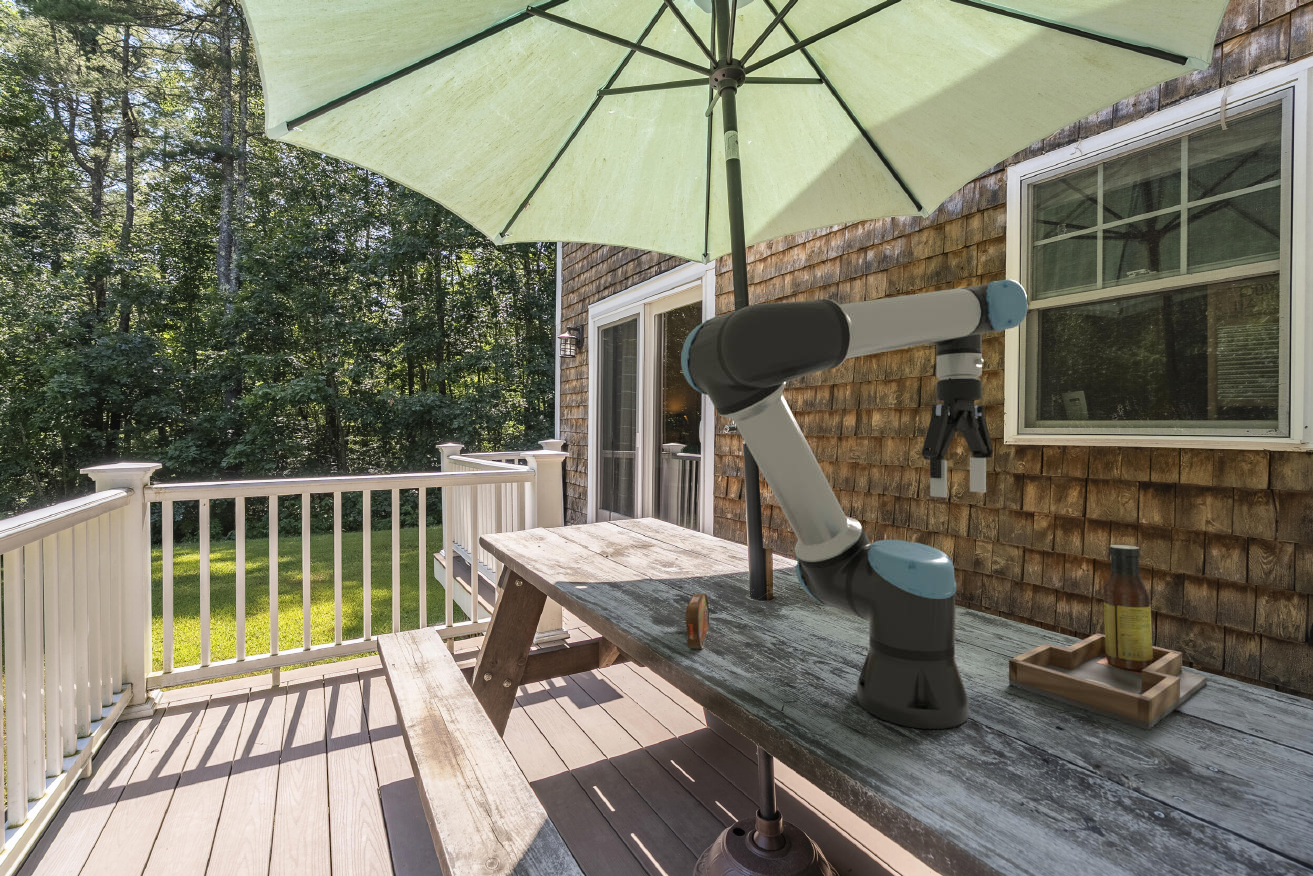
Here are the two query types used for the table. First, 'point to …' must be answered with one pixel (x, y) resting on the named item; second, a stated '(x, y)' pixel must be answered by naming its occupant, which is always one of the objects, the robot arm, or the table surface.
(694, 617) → the tin
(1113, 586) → the sauce bottle
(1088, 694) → the keyhole guide
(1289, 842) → the table surface
